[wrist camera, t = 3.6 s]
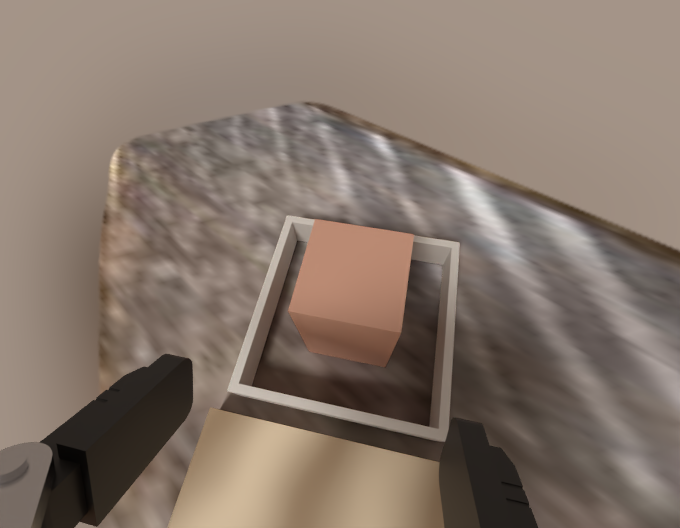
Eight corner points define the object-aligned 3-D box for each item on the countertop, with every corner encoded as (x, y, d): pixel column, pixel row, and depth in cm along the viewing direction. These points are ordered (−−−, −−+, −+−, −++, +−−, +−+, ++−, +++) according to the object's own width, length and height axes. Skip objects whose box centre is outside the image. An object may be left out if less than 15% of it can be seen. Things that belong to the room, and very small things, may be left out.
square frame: (450, 260, 25) (459, 242, 22) (436, 441, 19) (447, 442, 17) (292, 234, 26) (287, 215, 24) (240, 395, 21) (226, 390, 19)
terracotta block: (395, 295, 24) (414, 234, 16) (385, 367, 21) (401, 332, 14) (326, 282, 24) (314, 219, 17) (309, 351, 22) (287, 311, 15)
